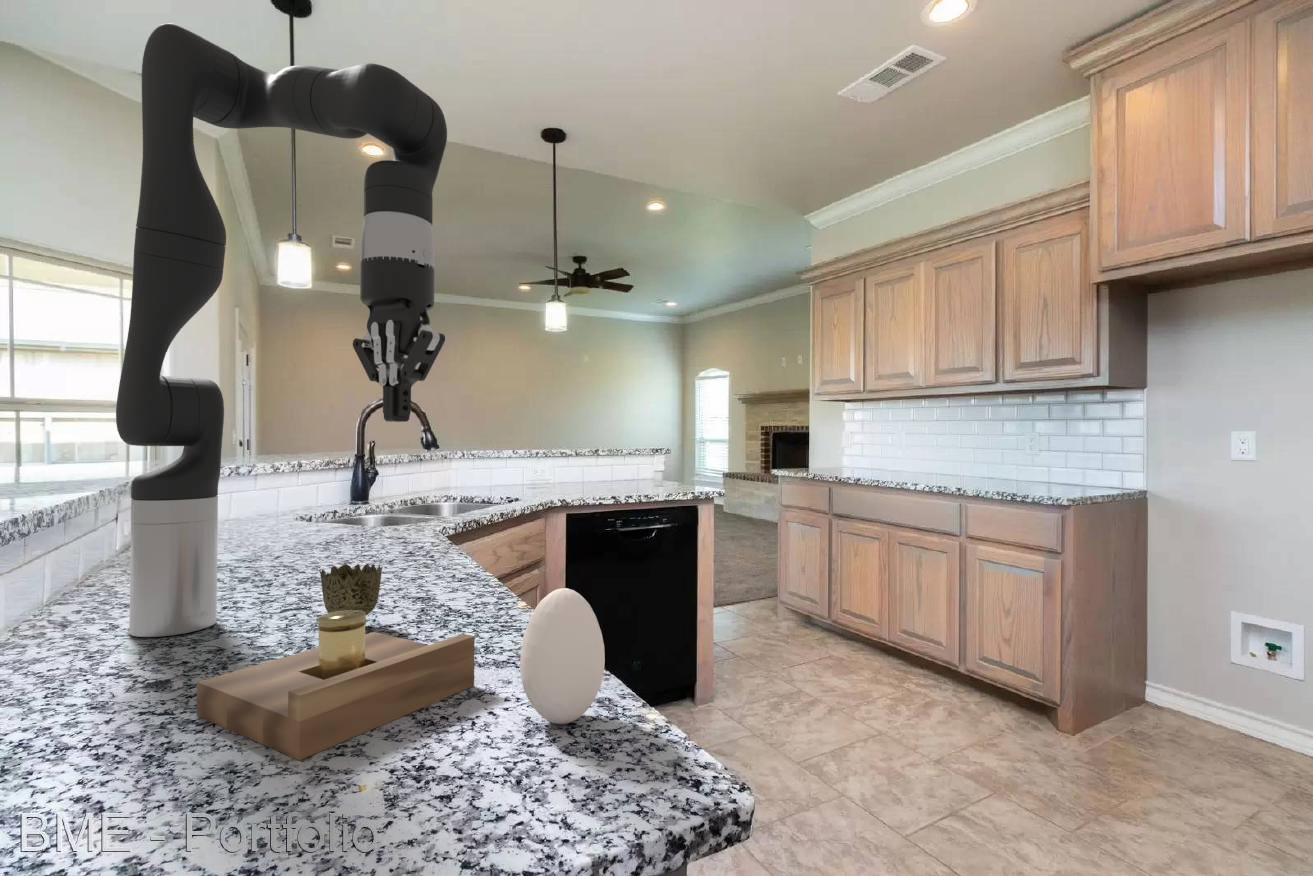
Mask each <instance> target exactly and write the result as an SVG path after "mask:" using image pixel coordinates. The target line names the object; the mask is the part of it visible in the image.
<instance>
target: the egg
mask: <svg viewBox="0 0 1313 876" xmlns="http://www.w3.org/2000/svg"><path fill="white" fill-rule="evenodd" d="M521 642H522V643H521V649H520V658H519V659H520V660H519V661H520V663H519V664H520V666H519V668H520V679H521V683H522V688H523V690H524V694H526V697H527V699H528V701H529V703H530V705H531V706H532V708H533V709H534V710H535V711H536V713H537V714H538V715H539V716H540V717H542V718H543V719H544V720H545V721H546V720H547V721H548V722H550V723H552V724H557V725H566V724H569V723H572V722H574V721H577V720H578V719H579V718H581V717H582V716H583V715H584V714H585V713H586V712H587V711H588V710H589V708H590V707H591V706H592V704H593V703H594V702H595V699H596V697H597V695H598V693H599V691H600V689H601V687H602V682H603V678H604V674H605V673H604V672H605V664H606V663H605V661H606V659H605V656H606V655H605V653H606V652H605V643H604V639H603V634H602V630H601V628H600V624H599V621H598V618H597V615H596V614H595V612H594V610H593V608H592V606H591V605H590V603H589V602H588V601H587V600H586V599H585V598H584V597H583V596H582V595H581V594H580V593H579V592H577V591H575V590H574V589H570V588H567V587H565V588H561V587H560V588H557V589H554V590H552V591H550V593H548V594H547V595H546V596H545V597H544V598H542V599H541V600H540V602H539V603H538V604H537V606H536V607H535V609H534V610H533V613H532V614H531V616H530V618H529V620H528V623H527V626H526V629H525V631H524V633H523V637H522V641H521Z"/></svg>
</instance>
